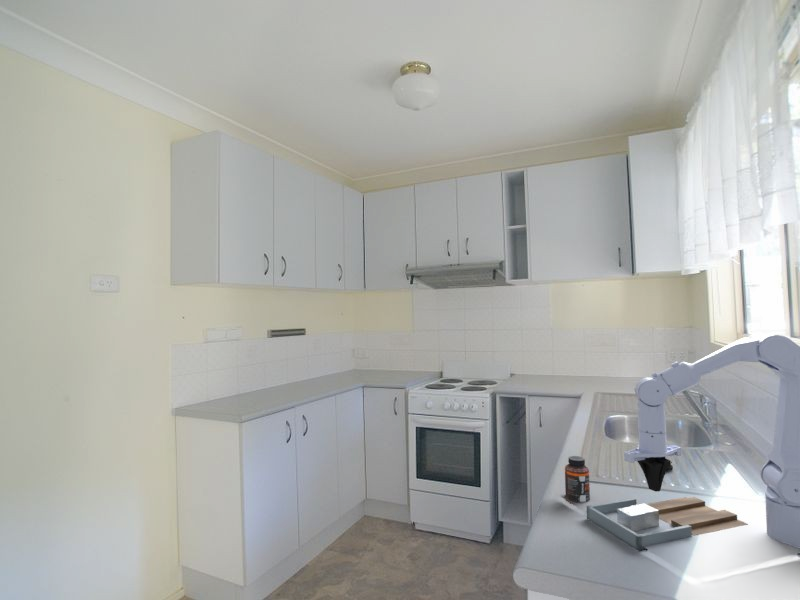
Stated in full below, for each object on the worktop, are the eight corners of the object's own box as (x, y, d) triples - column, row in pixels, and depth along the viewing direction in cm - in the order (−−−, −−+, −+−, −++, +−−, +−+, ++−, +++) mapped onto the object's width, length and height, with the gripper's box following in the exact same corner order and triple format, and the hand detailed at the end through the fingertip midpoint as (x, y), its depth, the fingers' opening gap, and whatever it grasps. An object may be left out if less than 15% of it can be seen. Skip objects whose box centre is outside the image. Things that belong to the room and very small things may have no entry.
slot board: (748, 528, 104) (747, 519, 104) (693, 540, 99) (692, 530, 99) (685, 501, 119) (685, 493, 119) (635, 509, 114) (635, 501, 114)
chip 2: (659, 528, 104) (658, 510, 104) (644, 531, 103) (644, 513, 103) (645, 520, 108) (644, 503, 108) (631, 523, 107) (630, 505, 107)
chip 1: (645, 531, 102) (645, 513, 103) (631, 534, 101) (630, 516, 101) (631, 523, 106) (631, 506, 106) (617, 526, 105) (617, 508, 105)
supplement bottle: (590, 507, 116) (589, 462, 117) (565, 504, 118) (564, 460, 119) (589, 498, 122) (588, 455, 122) (565, 495, 124) (564, 453, 124)
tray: (691, 540, 99) (691, 526, 99) (639, 551, 95) (638, 536, 95) (634, 510, 114) (633, 498, 114) (586, 518, 110) (586, 506, 110)
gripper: (662, 423, 113) (664, 479, 112) (613, 429, 108) (615, 487, 108) (688, 430, 106) (690, 490, 105) (637, 437, 102) (639, 499, 101)
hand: (654, 489), depth 106 cm, fingers closed
